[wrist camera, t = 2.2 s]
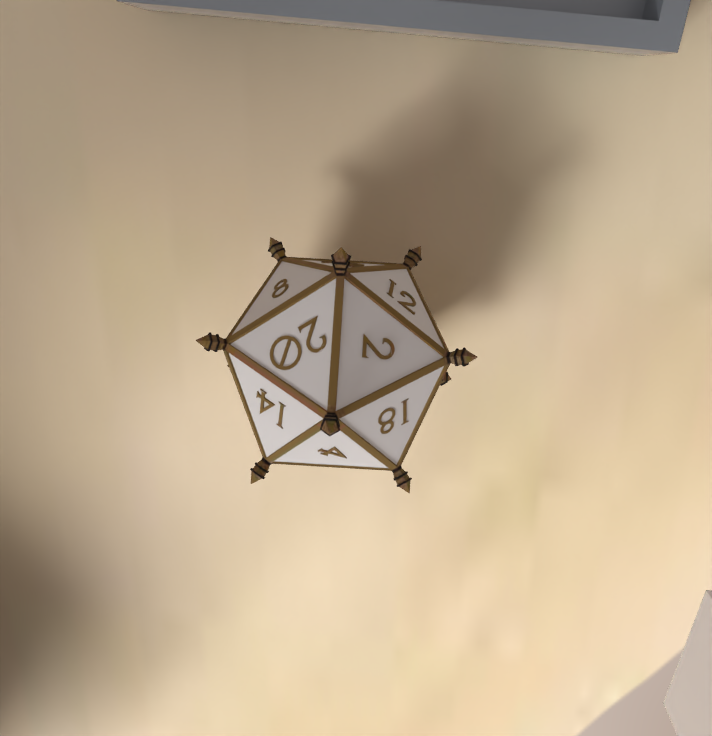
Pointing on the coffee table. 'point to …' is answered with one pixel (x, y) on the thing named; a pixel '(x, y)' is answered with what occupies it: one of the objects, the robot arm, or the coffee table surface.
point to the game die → (337, 362)
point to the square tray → (474, 19)
